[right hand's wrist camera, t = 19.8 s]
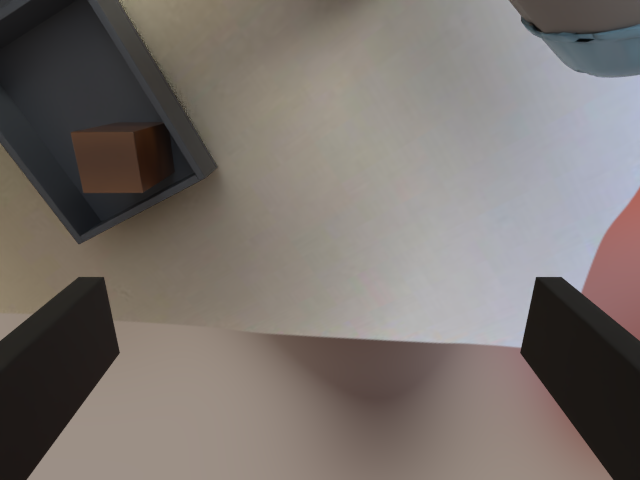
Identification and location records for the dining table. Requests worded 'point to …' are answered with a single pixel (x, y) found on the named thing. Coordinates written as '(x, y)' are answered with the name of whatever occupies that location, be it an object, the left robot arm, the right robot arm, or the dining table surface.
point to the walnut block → (123, 156)
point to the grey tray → (84, 104)
